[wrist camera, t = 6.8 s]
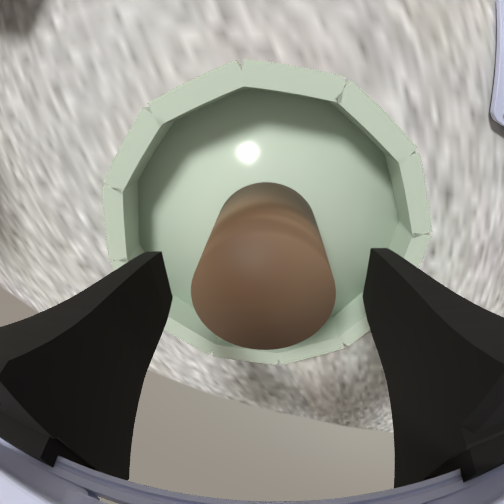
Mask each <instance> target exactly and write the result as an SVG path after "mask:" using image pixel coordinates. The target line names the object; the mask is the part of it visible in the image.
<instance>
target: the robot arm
mask: <svg viewBox="0 0 504 504" xmlns="http://www.w3.org/2000/svg"><path fill="white" fill-rule="evenodd" d="M496 9H497V51H496V67H495V78H494V87H493V95H492V102H491V108H490V114H491V117H492V119H493V120H494V121H495V122H497V123H498V124H500V125H502V126H503V127H504V118H503V115H504V0H496ZM362 297H363V302H364V307H365V312H366V317H367V321H368V324H369V327H370V330H371V333H372V336H373V339H374V342H375V344H376V347H377V350H378V353H379V356H380V359H381V363H382V366H383V369H384V372H385V376H386V380H387V385H388V391H389V397H390V403H391V411H392V419H393V429H394V447H395V478H394V489H390V490H385V491H380V492H375V493H370V494H363V495H357V496H351V497H343V498H335V499H324V500H311V501H289V502H287V501H285V502H266V501H265V502H264V501H241V500H229V499H219V498H210V497H202V496H196V495H189V494H183V493H178V492H172V491H167V490H163V489H158V488H153V487H149V486H145V485H141V484H137V483H134V482H130V481H127V480H128V479H129V467H130V453H131V444H132V436H133V428H134V422H135V417H136V411H137V407H138V402H139V398H140V394H141V389H142V385H143V381H144V378H145V375H146V372H147V369H148V367H149V364H150V362H151V359H152V357H153V354H154V352H155V349H156V347H157V344H158V342H159V340H160V337H161V335H162V332H163V330H164V327H165V325H166V322H167V319H168V315H169V312H170V308H171V304H172V299H173V296H172V293H171V289H170V285H169V280H168V276H167V272H166V268H165V264H164V259H163V255H162V251H152V252H144V253H142V254H140V255H139V256H137V257H135V258H133V259H132V260H130V261H129V262H127V263H126V264H124V265H122V266H121V267H119V268H118V269H116V270H115V271H113V272H112V273H110V274H109V275H107V276H106V277H104V278H103V279H101V280H99V281H98V282H96V283H95V284H93V285H91V286H90V287H88V288H87V289H85V290H83V291H82V292H80V293H78V294H77V295H75V296H73V297H71V298H70V299H68V300H66V301H64V302H62V303H60V304H58V305H56V306H54V307H52V308H50V309H47V310H45V311H43V312H40V313H38V314H36V315H34V316H31V317H29V318H26V319H24V320H21V321H18V322H15V323H12V324H9V325H6V326H3V327H0V504H107V503H104V502H102V501H100V500H99V498H98V497H97V496H99V497H102V498H104V499H107V500H110V501H113V502H116V503H119V504H504V318H503V317H501V316H499V315H497V314H494V313H492V312H490V311H488V310H486V309H484V308H482V307H480V306H478V305H476V304H474V303H472V302H470V301H468V300H467V299H465V298H463V297H461V296H459V295H458V294H456V293H454V292H453V291H451V290H450V289H448V288H447V287H445V286H444V285H442V284H440V283H439V282H437V281H436V280H434V279H433V278H431V277H430V276H429V275H427V274H426V273H424V272H423V271H421V270H420V269H418V268H417V267H416V266H414V265H413V264H411V263H410V262H409V261H407V260H406V259H404V258H403V257H401V256H400V255H398V254H397V253H395V252H394V251H392V250H390V249H388V248H371V249H370V256H369V262H368V268H367V274H366V280H365V285H364V291H363V296H362Z"/></svg>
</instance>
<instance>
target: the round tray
mask: <svg viewBox="0 0 504 504" xmlns="http://www.w3.org/2000/svg"><path fill="white" fill-rule="evenodd" d="M345 78H346V77H344V76H340V75H336V74H332V73H327V72H323V71H318V70H314V69H308V68H303V67H298V66H292V65H286V64H280V63H273V62H265V61H257V60H248V59H243V65H242V66H241V65H240V64H239V63H238V61H237V60H235V61H233V62H230V63H228V64H225V65H223V66H221V67H218V68H216V69H214V70H212V71H209V72H207V73H205V74H203V75H201V76H199V77H197V78H194V79H192V80H190V81H188V82H186V83H184V84H182V85H180V86H178V87H176V88H174V89H173V90H171V91H169V92H167V93H165V94H163V95H161V96H160V97H158V98H156V99H154V100H152V101H151V102H149V103H148V105H149V107H144V108H143V109H142V110H141V112H140V114H139V115H138V117H137V119H136V120H135V122H134V124H133V125H132V127H131V129H130V131H129V132H128V134H127V136H126V138H125V140H124V141H123V143H122V145H121V147H120V149H119V151H118V153H117V155H116V156H115V158H114V160H113V162H112V164H111V166H110V168H109V170H108V172H107V174H106V176H105V179H104V181H103V182H104V183H106V185H104V186H103V187H102V195H103V210H104V222H105V232H106V241H107V250H108V258H109V259H110V260H113V261H112V262H111V265H112V267H113V268H114V270H116V269H118V268H119V267H121V266H122V265H124V264H126V263H127V262H129V261H130V260H132V259H133V258H135V257H137V256H139V255H140V254H142V253H144V252H152V251H162V255H163V259H164V264H165V268H166V272H167V276H168V280H169V285H170V289H171V293H172V296H173V299H172V304H171V308H170V312H169V315H168V319H167V322H166V325H165V327H164V330H166V331H168V332H169V333H171V334H173V335H174V336H176V337H178V338H179V339H181V340H183V341H185V342H186V343H188V344H190V345H192V346H193V347H195V348H197V349H199V350H201V351H202V352H204V353H206V354H208V355H209V354H210V353H211V352H212V351H213V356H214V357H220V358H227V359H233V360H240V361H248V362H256V363H264V364H273V365H277V364H278V360H279V361H280V363H281V365H282V364H287V363H291V362H295V361H299V360H303V359H307V358H311V357H315V356H319V355H323V354H326V353H330V352H334V351H337V350H341V349H344V344H346V345H347V346H350V345H351V344H352V343H354V342H355V341H356V340H358V339H359V338H360V337H362V336H363V335H364V334H366V333H367V332H368V331H369V330H370V327H369V324H368V321H367V317H366V312H365V307H364V302H363V297H362V296H363V291H364V285H365V280H366V274H367V268H368V262H369V256H370V249H371V248H388V249H390V250H392V251H394V252H395V253H397V254H398V255H400V256H401V257H403V258H404V259H406V260H407V261H409V262H410V263H411V264H413V265H414V266H416V267H417V268H419V266H420V264H421V261H422V259H423V256H424V254H425V252H426V249H427V247H428V244H429V241H430V239H431V236H430V234H429V232H432V225H431V217H430V209H429V201H428V195H427V188H426V182H425V177H424V171H423V166H422V161H421V156H420V153H419V152H417V151H415V149H416V148H417V147H416V145H415V144H414V143H413V142H412V141H411V140H410V139H409V137H408V136H407V135H406V134H405V133H404V132H403V131H402V130H401V128H400V127H399V126H398V125H397V124H396V123H395V122H394V121H393V120H392V119H391V118H390V117H389V116H388V115H387V113H386V112H385V111H384V110H383V109H382V108H381V107H380V106H379V105H378V104H377V103H376V102H375V101H374V100H373V99H372V98H370V97H369V96H368V95H367V94H366V93H365V92H364V91H363V90H362V89H361V88H360V87H359V86H358V85H357V84H356V83H354V82H353V81H352V80H350V81H345ZM261 182H272V183H278V184H282V185H285V186H287V187H290V188H291V189H293V190H295V191H296V192H298V193H299V194H300V195H301V196H302V197H303V198H304V199H305V200H306V201H307V202H308V204H309V205H310V207H311V209H312V211H313V214H314V217H315V220H316V223H317V226H318V229H319V232H320V235H321V238H322V241H323V245H324V248H325V251H326V254H327V258H328V261H329V264H330V268H331V271H332V274H333V278H334V281H335V287H336V299H335V305H334V308H333V311H332V313H331V315H330V317H329V319H328V320H327V321H326V323H325V324H324V325H323V326H322V327H321V329H320V330H319V331H317V332H316V333H315V334H314V335H312V336H311V337H309V338H308V339H306V340H304V341H302V342H300V343H298V344H295V345H292V346H289V347H285V348H281V349H273V350H257V349H249V348H244V347H240V346H237V345H234V344H232V343H229V342H227V341H225V340H223V339H222V338H220V337H218V336H217V335H215V334H214V333H213V332H212V331H210V330H209V329H208V328H207V327H206V326H205V325H204V324H203V322H202V321H201V320H200V318H199V317H198V315H197V313H196V311H195V309H194V306H193V303H192V298H191V283H192V278H193V275H194V272H195V270H196V267H197V265H198V263H199V260H200V258H201V255H202V253H203V250H204V248H205V246H206V243H207V241H208V239H209V236H210V234H211V231H212V229H213V227H214V224H215V222H216V220H217V217H218V215H219V213H220V211H221V208H222V207H223V205H224V203H225V202H226V201H227V199H228V198H229V197H230V196H231V195H232V194H234V193H235V192H236V191H238V190H239V189H241V188H243V187H245V186H248V185H250V184H254V183H261Z"/></svg>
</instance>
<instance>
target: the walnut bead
mask: <svg viewBox="0 0 504 504" xmlns="http://www.w3.org/2000/svg"><path fill="white" fill-rule="evenodd" d="M191 298H192V303H193V306H194V309H195V311H196V313H197V315H198V317H199V318H200V320H201V321H202V322H203V324H204V325H205V326H206V327H207V328H208V329H209V330H210V331H212V332H213V333H214V334H215V335H217V336H218V337H220V338H222V339H223V340H225V341H227V342H229V343H232V344H234V345H237V346H240V347H244V348H249V349H257V350H273V349H281V348H285V347H289V346H292V345H295V344H298V343H300V342H302V341H304V340H306V339H308V338H309V337H311V336H312V335H314V334H315V333H316V332H317V331H319V330H320V329H321V327H322V326H323V325H324V324H325V323H326V321H327V320H328V319H329V317H330V315H331V313H332V311H333V308H334V305H335V299H336V287H335V281H334V278H333V274H332V271H331V268H330V264H329V261H328V258H327V254H326V251H325V248H324V245H323V241H322V238H321V235H320V232H319V229H318V226H317V223H316V220H315V217H314V214H313V211H312V209H311V207H310V205H309V204H308V202H307V201H306V200H305V199H304V198H303V197H302V196H301V195H300V194H299V193H298V192H296V191H295V190H293V189H291V188H290V187H287V186H285V185H282V184H278V183H272V182H261V183H254V184H250V185H248V186H245V187H243V188H241V189H239V190H238V191H236V192H235V193H234V194H232V195H231V196H230V197H229V198H228V199H227V201H226V202H225V203H224V205H223V207H222V208H221V211H220V213H219V215H218V217H217V220H216V222H215V224H214V227H213V229H212V231H211V234H210V236H209V239H208V241H207V243H206V246H205V248H204V250H203V253H202V255H201V258H200V260H199V263H198V265H197V267H196V270H195V272H194V275H193V278H192V283H191Z"/></svg>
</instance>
